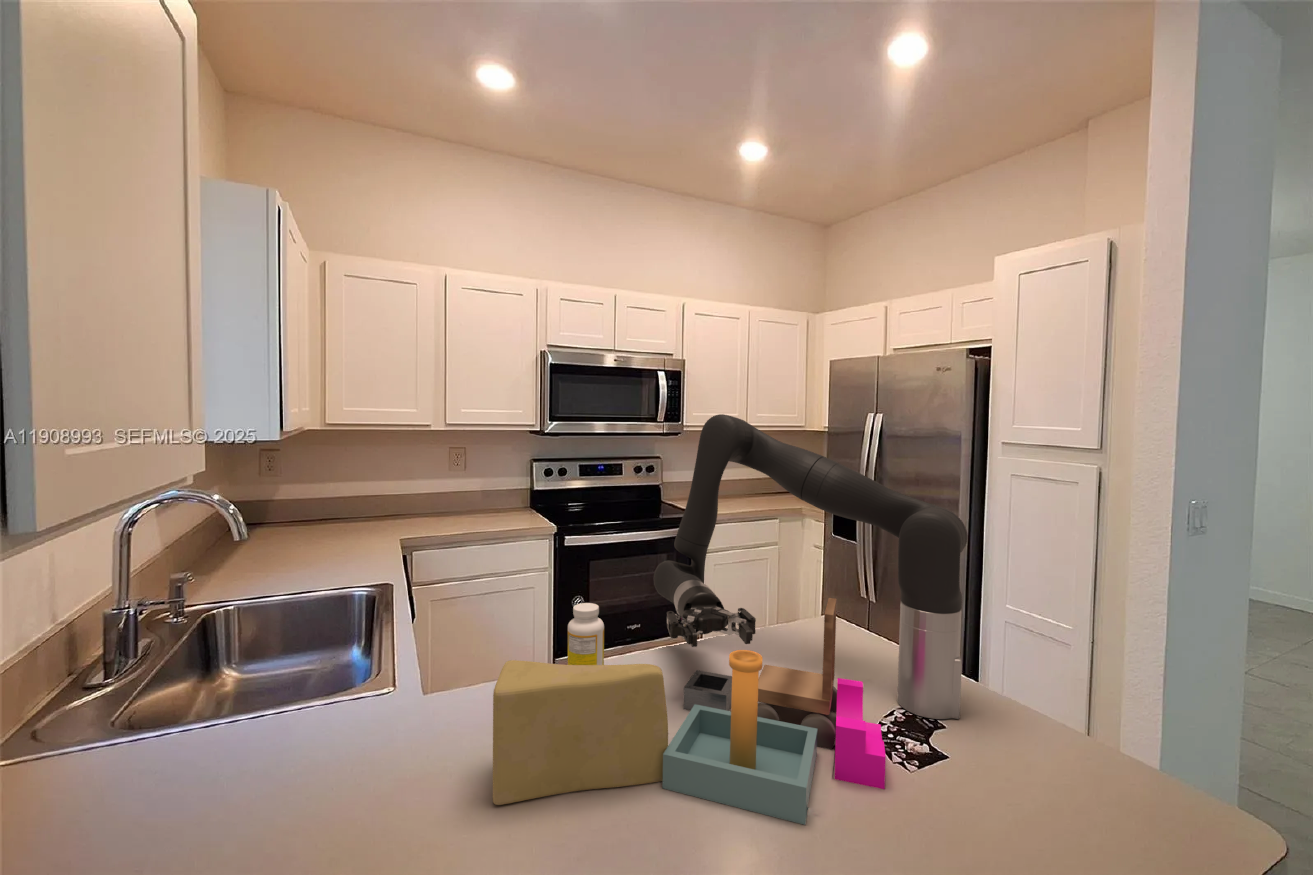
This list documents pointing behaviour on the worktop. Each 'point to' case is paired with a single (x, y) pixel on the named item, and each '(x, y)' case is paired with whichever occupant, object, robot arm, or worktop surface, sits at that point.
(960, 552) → the robot arm
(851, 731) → the toy block
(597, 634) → the supplement bottle
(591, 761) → the cheese
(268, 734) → the worktop surface
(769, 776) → the tray
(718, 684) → the pin socket
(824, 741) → the trolley
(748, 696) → the pin
